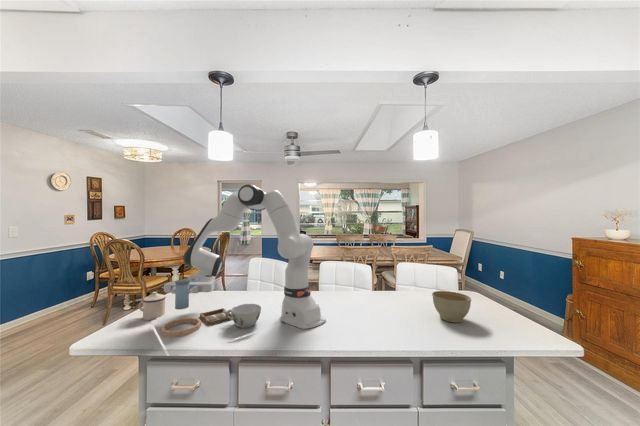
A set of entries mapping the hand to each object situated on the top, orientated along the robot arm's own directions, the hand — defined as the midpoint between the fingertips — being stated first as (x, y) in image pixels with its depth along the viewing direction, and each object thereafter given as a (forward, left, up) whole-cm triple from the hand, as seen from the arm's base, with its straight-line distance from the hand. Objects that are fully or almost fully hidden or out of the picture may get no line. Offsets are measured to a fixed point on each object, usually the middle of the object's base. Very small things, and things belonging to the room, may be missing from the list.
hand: (181, 291), depth 102 cm
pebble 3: (+1, -19, -15) cm, 24 cm away
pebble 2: (-2, -17, -15) cm, 23 cm away
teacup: (-12, -22, -16) cm, 30 cm away
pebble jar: (+1, -1, -7) cm, 7 cm away
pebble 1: (-1, -13, -15) cm, 20 cm away
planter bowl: (-69, -98, -16) cm, 121 cm away
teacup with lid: (+27, +6, -16) cm, 32 cm away
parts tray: (+3, -16, -16) cm, 23 cm away
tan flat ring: (+1, -1, -16) cm, 16 cm away
